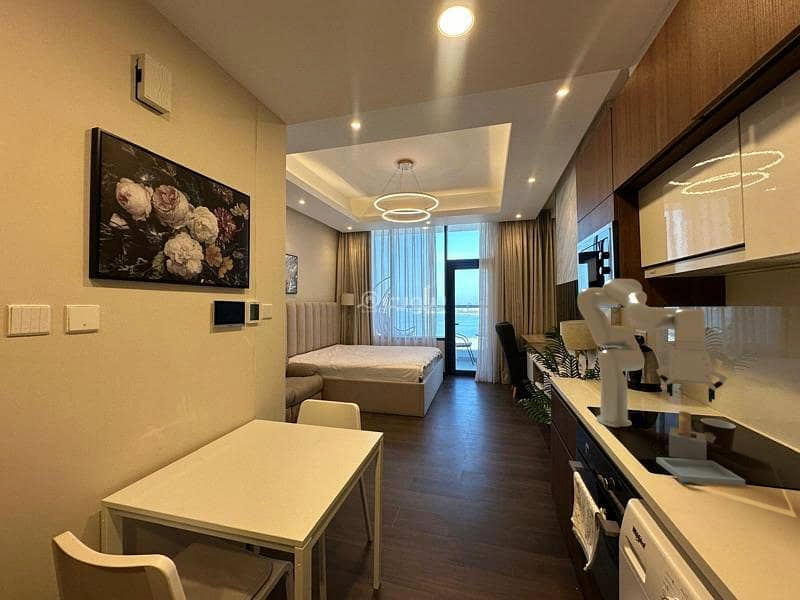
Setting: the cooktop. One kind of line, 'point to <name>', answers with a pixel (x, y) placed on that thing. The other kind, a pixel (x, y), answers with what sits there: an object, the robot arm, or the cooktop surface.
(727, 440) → the coffee mug
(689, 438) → the grey notched box
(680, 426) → the brown upright block
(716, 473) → the slate tray
